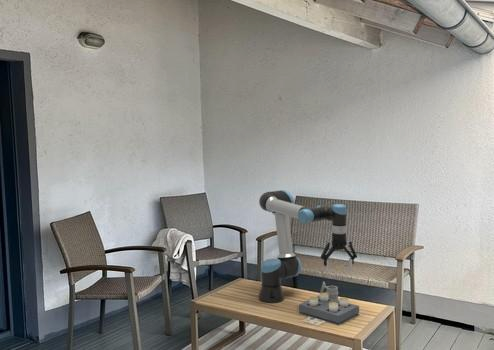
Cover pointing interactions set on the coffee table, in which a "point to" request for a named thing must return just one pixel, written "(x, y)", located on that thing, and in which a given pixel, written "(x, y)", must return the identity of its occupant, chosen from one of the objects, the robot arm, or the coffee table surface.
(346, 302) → the button
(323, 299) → the button
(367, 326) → the coffee table surface
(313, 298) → the button
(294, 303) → the coffee table surface
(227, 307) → the coffee table surface
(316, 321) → the card
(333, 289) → the mug
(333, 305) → the button
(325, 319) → the console
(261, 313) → the coffee table surface
